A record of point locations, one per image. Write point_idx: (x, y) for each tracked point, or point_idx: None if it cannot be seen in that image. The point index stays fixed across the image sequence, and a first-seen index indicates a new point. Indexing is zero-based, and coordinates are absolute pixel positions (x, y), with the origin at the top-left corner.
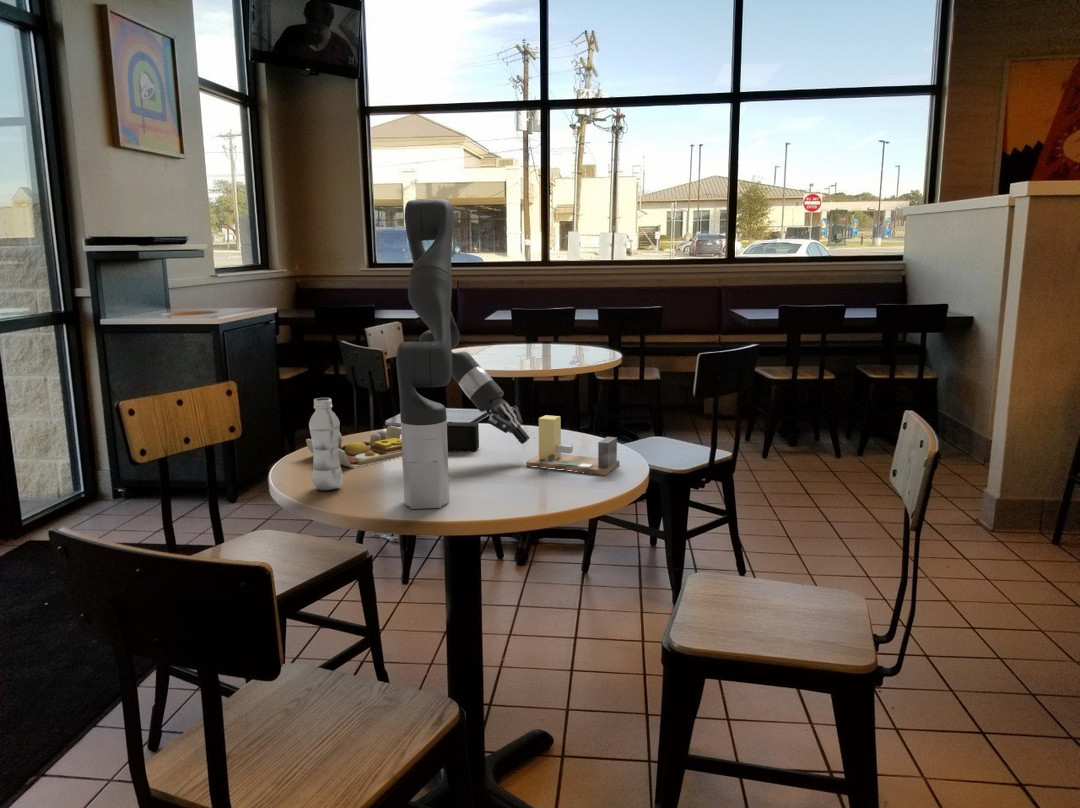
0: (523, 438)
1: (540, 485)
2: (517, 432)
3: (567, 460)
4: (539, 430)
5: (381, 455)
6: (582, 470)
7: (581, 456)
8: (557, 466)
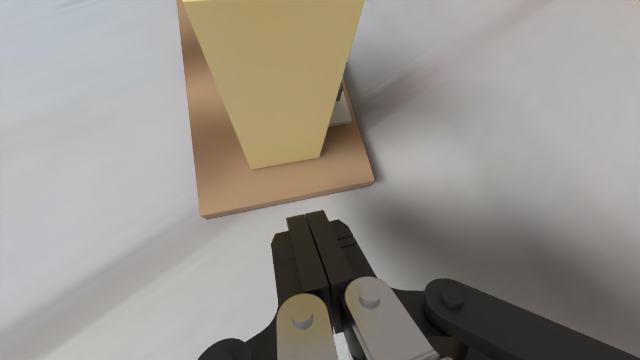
0: (341, 222)
1: (477, 49)
2: (365, 263)
3: None
4: (340, 72)
5: None
6: None
7: (187, 58)
8: None
